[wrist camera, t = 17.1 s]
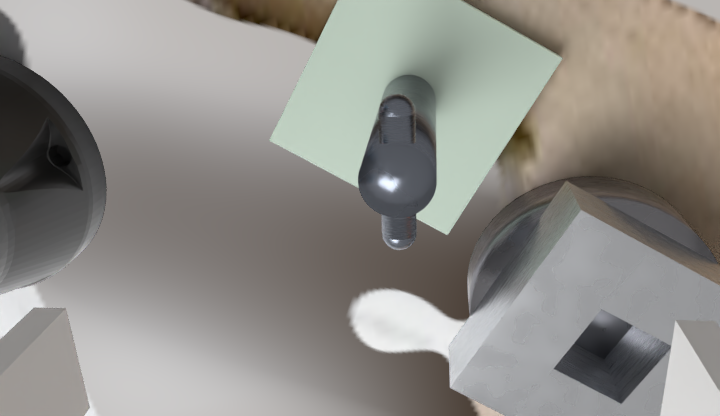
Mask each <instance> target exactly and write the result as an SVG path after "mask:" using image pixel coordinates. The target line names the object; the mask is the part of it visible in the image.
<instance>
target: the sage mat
mask: <svg viewBox="0 0 720 416" xmlns="http://www.w3.org/2000/svg"><path fill="white" fill-rule="evenodd" d="M562 59H563V58H562V57H561V56H560V55H558V54H556V53H555V52H553V51H551V50H549V49H547V48H546V47H544V46H542V45H540V44H539V43H537V42H535V41H533V40H532V39H530V38H528V37H526V36H525V35H523V34H521V33H519V32H518V31H516V30H514V29H512V28H511V27H509V26H507V25H505V24H504V23H502V22H500V21H498V20H496V19H495V18H493V17H491V16H489V15H488V14H486V13H484V12H482V11H481V10H479V9H477V8H475V7H474V6H472V5H470V4H468V3H467V2H465V1H463V0H338V1H337V3H336V5H335V7H334V9H333V11H332V13H331V15H330V17H329V19H328V21H327V23H326V25H325V27H324V30H323V32H322V34H321V36H320V38H319V40H318V42H317V44H316V46H315V48H314V50H313V52H312V54H311V56H310V58H309V60H308V62H307V64H306V66H305V69H304V70H303V73H302V75H301V77H300V79H299V81H298V83H297V85H296V87H295V89H294V91H293V93H292V95H291V97H290V99H289V101H288V103H287V105H286V107H285V109H284V112H283V113H282V116H281V118H280V120H279V122H278V124H277V126H276V128H275V130H274V132H273V134H272V136H271V138H270V140H269V141H271V142H273V143H275V144H277V145H279V146H281V147H282V148H284V149H286V150H288V151H290V152H292V153H294V154H296V155H298V156H299V157H302V158H303V159H305V160H307V161H309V162H311V163H312V164H314V165H316V166H318V167H320V168H322V169H324V170H326V171H328V172H330V173H331V174H333V175H335V176H337V177H339V178H341V179H343V180H345V181H347V182H348V183H350V184H352V185H354V186H356V187H358V174H359V170H360V167H361V164H362V161H363V157H364V154H365V151H366V148H367V144H368V141H369V138H370V135H371V132H372V128H373V125H374V122H375V119H376V116H377V112H378V109H379V106H380V103H381V99H382V96H383V93H384V91H385V88H386V87H387V85H388V84H389V83H390V82H391V81H392V80H394V79H395V78H397V77H400V76H403V75H415V76H419V77H421V78H423V79H424V80H426V81H427V82H428V83H429V84H430V85H431V87H432V88H433V90H434V93H435V97H436V158H437V185H436V191H435V194H434V196H433V198H432V200H431V201H430V203H429V204H428V205H427V206H426V207H425V208H424V209H423V210H421V211H420V212H418V213H416V219H418V220H420V221H422V222H424V223H426V224H427V225H429V226H431V227H433V228H435V229H437V230H439V231H441V232H443V233H444V234H446V235H448V233H449V232H450V230H451V229H452V227H453V226H454V224H455V223H456V221H457V220H458V218H459V216H460V215H461V213H462V212H463V210H464V209H465V207H466V206H467V204H468V203H469V201H470V200H471V198H472V197H473V195H474V193H475V192H476V190H477V189H478V187H479V186H480V184H481V182H482V181H483V180H484V178H485V177H486V175H487V173H488V172H489V171H490V169H491V167H492V166H493V164H494V163H495V161H496V160H497V158H498V157H499V155H500V154H501V152H502V151H503V149H504V148H505V146H506V144H507V143H508V141H509V140H510V138H511V137H512V135H513V134H514V132H515V131H516V129H517V128H518V126H519V125H520V123H521V122H522V120H523V118H524V117H525V115H526V114H527V112H528V111H529V109H530V108H531V106H532V105H533V103H534V102H535V100H536V99H537V97H538V95H539V94H540V92H541V91H542V89H543V88H544V86H545V85H546V83H547V82H548V80H549V79H550V77H551V76H552V74H553V72H554V71H555V69H556V68H557V66H558V65H559V63H560V62H561V60H562ZM358 188H359V187H358Z"/></svg>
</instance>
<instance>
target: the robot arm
mask: <svg viewBox="0 0 720 416" xmlns="http://www.w3.org/2000/svg"><path fill="white" fill-rule="evenodd" d="M105 204H106V177H105V171H104V166H103V162H102V159H101V155H100V152H99V150H98V147H97V144H96V142H95V140H94V138H93V136H92V134H91V132H90V130H89V128H88V126H87V125H86V123H85V122H84V120H83V118H82V117H81V116H80V114H79V113H78V112H77V110H76V109H75V108H74V107H73V105H72V104H71V103H70V102H69V101H68V100H67V99H66V97H65V96H63V94H62V93H61V92H59V91H58V90H57V89H56V88H55V87H54V86H53V85H51V84H50V83H49V82H48V81H47V80H45V79H44V78H43V77H41V76H40V75H38V74H36V73H35V72H34V71H32V70H30V69H28V68H27V67H25V66H23V65H21V64H19V63H17V62H15V61H12V60H10V59H7V58H4V57H1V56H0V294H3V293H6V292H9V291H12V290H15V289H19V288H23V287H27V286H31V285H34V284H37V283H40V282H42V281H44V280H46V279H48V278H50V277H52V276H53V275H55V274H57V273H58V272H59V271H61V270H62V269H63V268H65V267H66V266H67V265H68V264H69V263H70V262H71V261H72V260H74V259H75V258H76V257H77V256H78V255H79V254H80V253H81V252H82V251H83V250H84V249H85V248H86V247H87V246H88V245H89V243H90V242H91V241H92V239H93V238H94V236H95V234H96V233H97V231H98V228H99V226H100V224H101V221H102V218H103V214H104V210H105ZM89 408H90V407H89V402H88V398H87V394H86V390H85V386H84V381H83V377H82V373H81V369H80V365H79V361H78V356H77V352H76V348H75V344H74V340H73V335H72V331H71V327H70V323H69V319H68V315H67V310H66V308H33V309H32V310H31V311H30V312H29V313H28V314H27V315H26V316H25V317H24V318H23V319H22V320H21V321H19V322H18V323H17V324H16V325H15V326H14V327H13V328H12V329H11V330H10V331H9V332H8V333H7V334H6V335H5V336H4V337H2V338H1V339H0V416H84V415H85V414H86V412H87V411H88V409H89ZM660 416H720V327H719V326H718V324H717V323H716V321H696V320H675V327H674V333H673V339H672V345H671V352H670V358H669V364H668V370H667V377H666V383H665V389H664V395H663V402H662V408H661V414H660Z"/></svg>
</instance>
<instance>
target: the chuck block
mask: <svg viewBox="0 0 720 416" xmlns="http://www.w3.org/2000/svg"><path fill="white" fill-rule="evenodd" d="M467 286H468V300H469V312H470V317H469V318H468V319H467V321H466V322H465V324H464V325H463V326H462V328H461V329H460V331H459V332H458V333H457V335H456V336H455V338H454V339H453V340H452V342H451V343H450V345H449V368H450V388H451V389H453V390H455V391H457V392H459V393H461V394H463V395H465V396H467V397H469V398H471V399H473V400H475V401H477V402H479V403H481V404H483V405H485V406H487V407H489V408H491V409H493V410H495V411H497V412H499V413H501V414H503V415H505V416H660V414H661V408H662V402H663V395H664V389H665V383H666V377H667V370H668V364H669V358H670V352H671V345H672V339H673V333H674V327H675V320H696V321H716V323H717V324H718V326H719V327H720V265H719V264H718V262H717V261H716V259H715V257H714V256H713V254H712V252H711V251H710V249H709V248H708V247H707V246H706V245H705V243H704V242H703V241H702V240H701V239H700V237H699V236H698V235H697V234H696V233H695V232H694V230H693V229H692V228H691V227H690V226H689V225H688V223H687V222H686V221H685V220H684V219H683V218H682V216H681V215H680V214H679V213H678V212H677V210H676V209H675V208H673V207H672V206H671V205H670V204H669V203H668V202H667V201H665V200H664V199H663V198H661V197H660V196H658V195H657V194H655V193H654V192H652V191H650V190H648V189H646V188H644V187H641V186H639V185H637V184H634V183H630V182H627V181H624V180H619V179H614V178H608V177H593V176H589V177H574V178H569V179H563V180H558V181H555V182H552V183H549V184H545V185H542V186H540V187H538V188H536V189H533V190H531V191H529V192H527V193H525V194H524V195H522V196H520V197H519V198H517V199H515V200H514V201H513V202H511V203H510V204H509V205H507V206H506V207H505V208H504V209H502V210H501V211H500V212H499V213H498V214H497V216H495V217H494V218H493V219H492V221H491V222H490V223H489V225H488V226H487V227H486V228H485V230H484V231H483V233H482V235H481V236H480V238H479V240H478V242H477V243H476V246H475V248H474V251H473V253H472V256H471V260H470V264H469V268H468V278H467Z"/></svg>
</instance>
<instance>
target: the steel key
mask: <svg viewBox="0 0 720 416" xmlns="http://www.w3.org/2000/svg"><path fill="white" fill-rule="evenodd" d="M436 185H437V158H436V97H435V93H434V90H433V88H432V87H431V85H430V84H429V83H428V82H427V81H426V80H424V79H423V78H421V77H419V76H415V75H403V76H400V77H397V78H395V79H394V80H392V81H391V82H390V83H389V84H388V85H387V87H386V88H385V91H384V93H383V96H382V99H381V103H380V106H379V109H378V112H377V116H376V119H375V122H374V125H373V128H372V132H371V135H370V138H369V141H368V144H367V148H366V151H365V154H364V157H363V161H362V164H361V167H360V170H359V174H358V187H359V190H360V193H361V196H362V197H363V199H364V201H365V202H366V203H367V205H368V206H369V207H371V208H372V209H373V210H374V211H376V212H378V213H380V214H381V215H382V236H383V240H384V241H385V243H386V244H387V245H388V246H389V247H391V248H392V249H395V250H403V249H406V248H408V247H410V246H411V245H412V244H413V243H414V241H415V238H416V233H417V228H416V227H417V226H416V225H417V224H416V213H418V212H420V211H421V210H423V209H424V208H425V207H426V206H427V205H428V204H429V203H430V201H431V200H432V198H433V196H434V194H435V191H436Z"/></svg>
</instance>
